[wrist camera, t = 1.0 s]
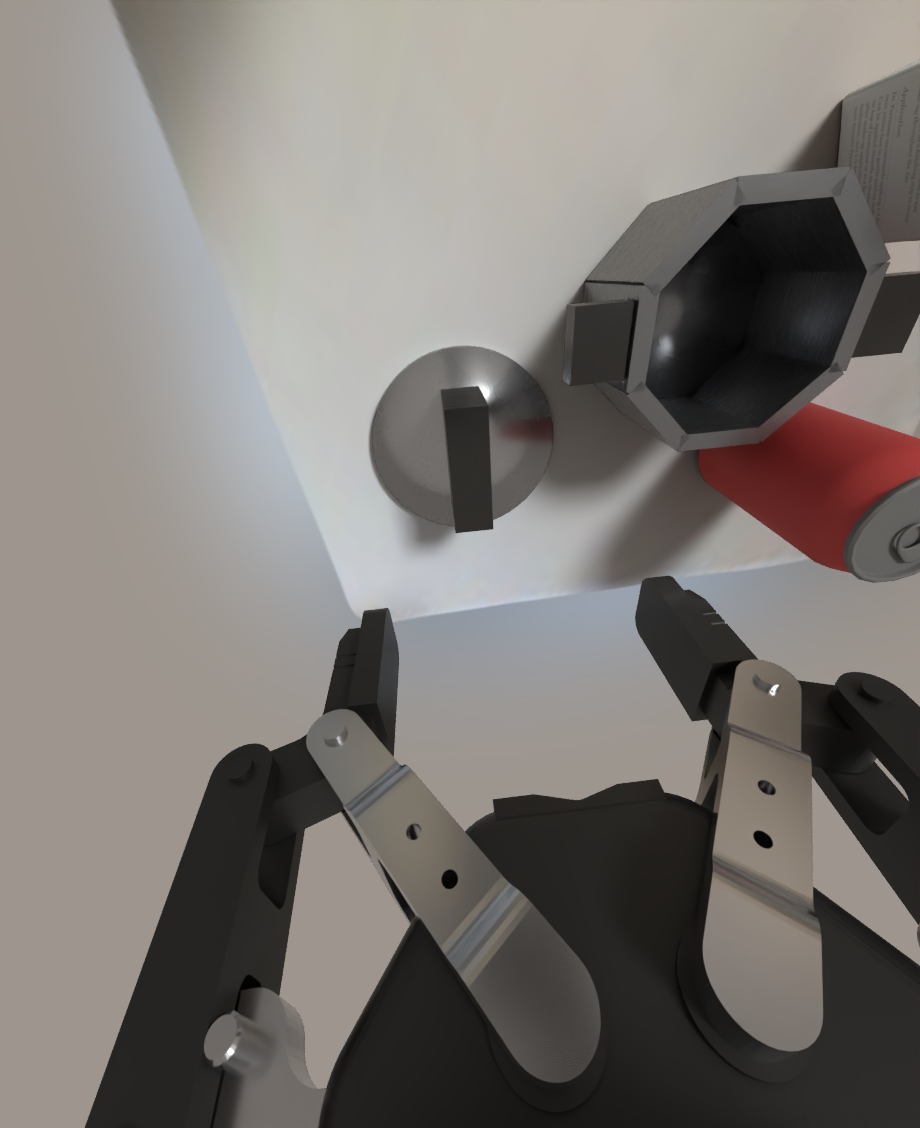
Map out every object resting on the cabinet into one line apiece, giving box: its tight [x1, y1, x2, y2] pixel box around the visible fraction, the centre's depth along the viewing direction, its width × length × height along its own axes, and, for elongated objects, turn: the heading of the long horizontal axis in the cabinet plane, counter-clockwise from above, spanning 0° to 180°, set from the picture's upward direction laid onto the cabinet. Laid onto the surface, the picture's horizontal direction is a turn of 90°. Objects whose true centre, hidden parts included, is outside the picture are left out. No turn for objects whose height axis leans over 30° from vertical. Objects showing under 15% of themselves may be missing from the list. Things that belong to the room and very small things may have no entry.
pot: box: [563, 166, 920, 452], centre depth 21 cm, size 10×15×7 cm, turn 94°
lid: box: [372, 346, 553, 533], centre depth 25 cm, size 11×11×5 cm
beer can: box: [698, 402, 920, 582], centre depth 23 cm, size 7×7×12 cm
